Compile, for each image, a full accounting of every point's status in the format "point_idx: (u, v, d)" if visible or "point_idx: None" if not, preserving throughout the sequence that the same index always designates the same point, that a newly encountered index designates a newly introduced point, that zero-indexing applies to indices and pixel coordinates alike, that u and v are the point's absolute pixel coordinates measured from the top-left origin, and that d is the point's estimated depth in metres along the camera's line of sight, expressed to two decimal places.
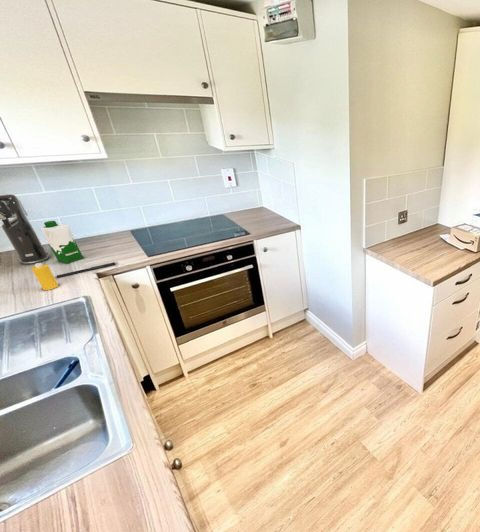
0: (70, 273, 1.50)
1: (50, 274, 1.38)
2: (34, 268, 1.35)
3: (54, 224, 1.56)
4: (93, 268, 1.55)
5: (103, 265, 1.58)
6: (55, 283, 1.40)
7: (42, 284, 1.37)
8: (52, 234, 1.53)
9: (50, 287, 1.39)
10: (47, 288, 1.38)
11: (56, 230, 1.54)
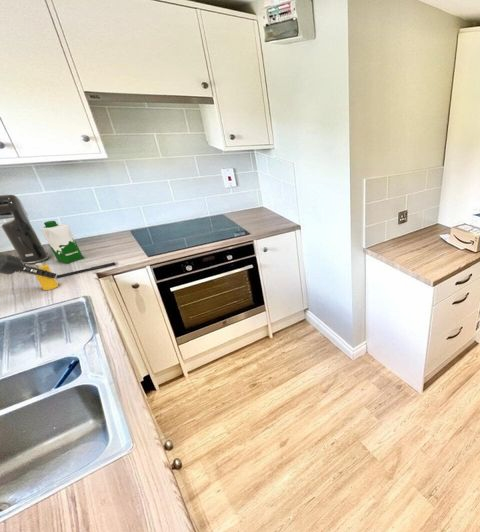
0: (70, 273, 1.50)
1: None
2: None
3: (54, 224, 1.56)
4: (93, 268, 1.55)
5: (103, 265, 1.58)
6: (55, 283, 1.40)
7: (42, 284, 1.37)
8: (52, 234, 1.53)
9: (50, 287, 1.39)
10: (47, 288, 1.38)
11: (56, 230, 1.54)
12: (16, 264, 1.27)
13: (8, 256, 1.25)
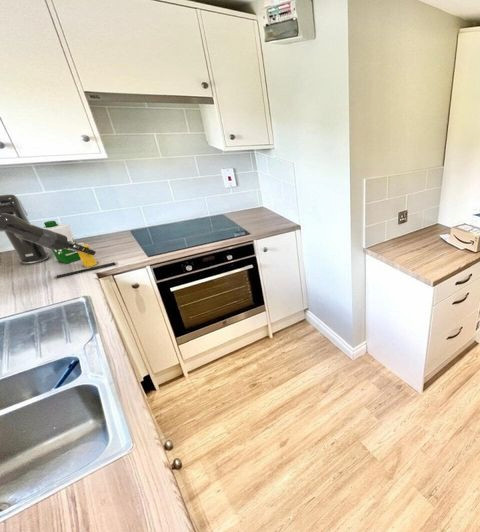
0: (70, 273, 1.50)
1: None
2: None
3: (54, 224, 1.56)
4: (93, 268, 1.55)
5: (103, 265, 1.58)
6: (94, 261, 1.60)
7: (84, 261, 1.57)
8: None
9: (90, 264, 1.58)
10: (88, 265, 1.58)
11: (56, 230, 1.54)
12: (64, 241, 1.46)
13: (57, 234, 1.44)
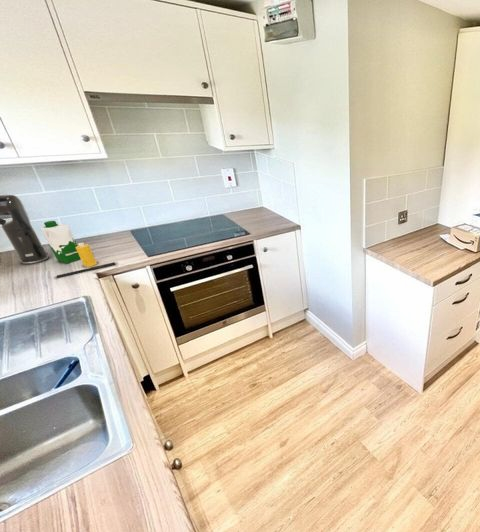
0: (70, 273, 1.50)
1: (90, 253, 1.58)
2: (77, 247, 1.54)
3: (54, 224, 1.56)
4: (93, 268, 1.55)
5: (103, 265, 1.58)
6: (94, 261, 1.60)
7: (84, 261, 1.57)
8: (52, 234, 1.53)
9: (90, 264, 1.58)
10: (88, 265, 1.58)
11: (56, 230, 1.54)
12: None
13: None
